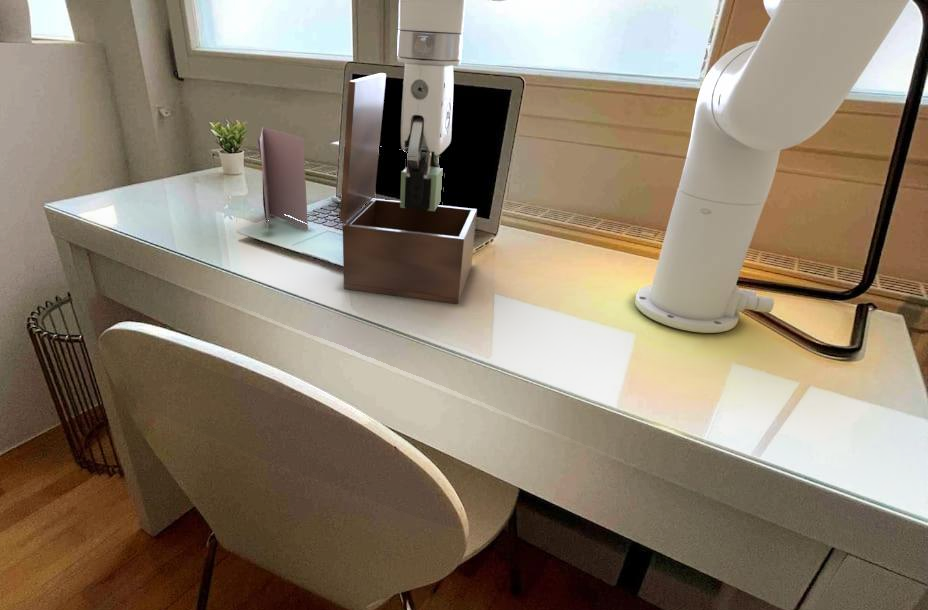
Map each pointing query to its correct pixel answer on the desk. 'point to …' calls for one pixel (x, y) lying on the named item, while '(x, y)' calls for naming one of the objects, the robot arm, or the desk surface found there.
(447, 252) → the box
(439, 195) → the block
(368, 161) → the box lid
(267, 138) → the greeting card
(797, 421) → the desk surface
